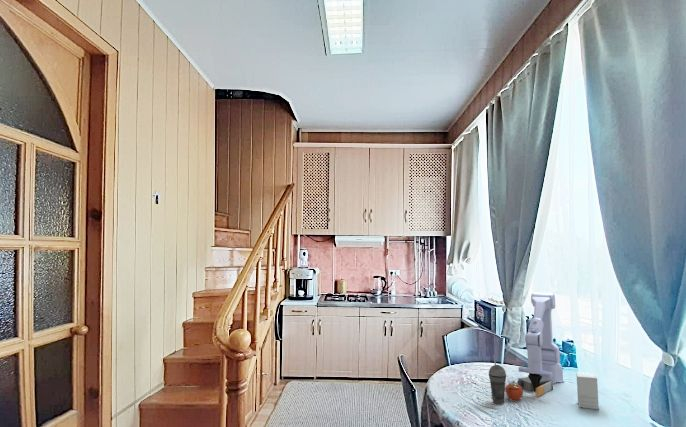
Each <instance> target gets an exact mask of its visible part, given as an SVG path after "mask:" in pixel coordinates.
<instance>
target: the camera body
mask: <svg viewBox="0 0 686 427" xmlns="http://www.w3.org/2000/svg"><path fill="white" fill-rule="evenodd" d="M550 381H551V380H549V379H546V378H544V377H542V378H541V380H540V383H539V386H541V385H544V384H546V383H548V382H550ZM516 383H518V384H519V385H520V386H521V387H522V389H523V391H524V390H525V391H527V392H530V393H534V392H533V391H534V389H533V385H532V383H531V381H530V379H529V377H528V376H525V377H519V378H517V381H516ZM539 386H538V387H539Z"/></svg>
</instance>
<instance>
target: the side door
mask: <svg viewBox="0 0 686 427" xmlns="http://www.w3.org/2000/svg"><path fill="white" fill-rule="evenodd" d="M552 390H554V383H553V381H550V382H548V383H546V384H544V385H541V386H539V387H537V388H536V392H535V396H536V397H537V398H539V397H542V396H543V395H545V393H548V392H549V391H552Z"/></svg>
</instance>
